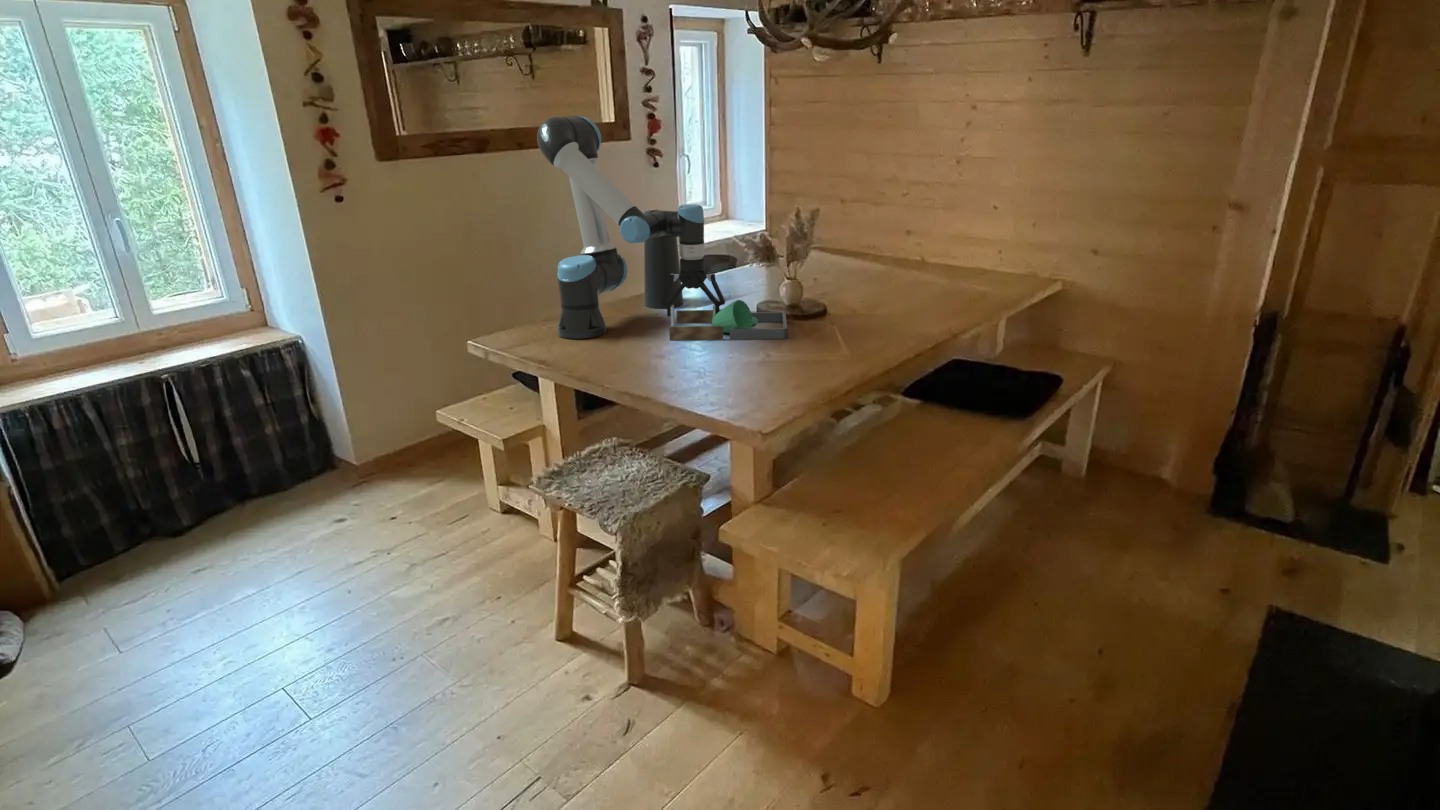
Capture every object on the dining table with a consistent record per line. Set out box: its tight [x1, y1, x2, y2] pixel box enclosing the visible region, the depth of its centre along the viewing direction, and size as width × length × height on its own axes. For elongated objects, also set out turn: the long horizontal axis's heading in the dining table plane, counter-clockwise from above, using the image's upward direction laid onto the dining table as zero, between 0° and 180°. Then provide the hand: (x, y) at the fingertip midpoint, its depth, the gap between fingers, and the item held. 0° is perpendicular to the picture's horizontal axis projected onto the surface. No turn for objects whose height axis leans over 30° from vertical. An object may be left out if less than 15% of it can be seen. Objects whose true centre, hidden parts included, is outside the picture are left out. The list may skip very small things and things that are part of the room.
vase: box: [643, 236, 684, 310], centre depth 275 cm, size 14×14×29 cm
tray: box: [729, 311, 788, 341], centre depth 245 cm, size 17×22×3 cm
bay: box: [668, 309, 724, 341], centre depth 246 cm, size 16×22×4 cm
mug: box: [711, 299, 759, 334], centre depth 243 cm, size 15×10×10 cm
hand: (693, 326), depth 247 cm, fingers open, 12 cm apart
